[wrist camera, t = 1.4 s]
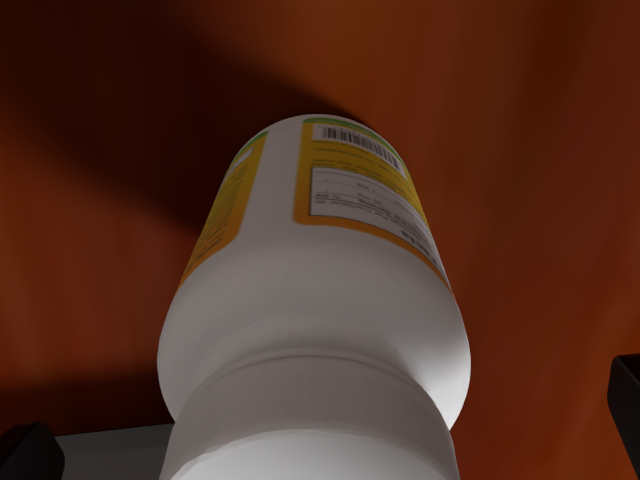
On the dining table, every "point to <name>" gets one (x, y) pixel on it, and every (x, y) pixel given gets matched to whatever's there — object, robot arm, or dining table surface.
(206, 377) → the supplement bottle
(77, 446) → the tote
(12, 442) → the robot arm
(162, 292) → the dining table surface
